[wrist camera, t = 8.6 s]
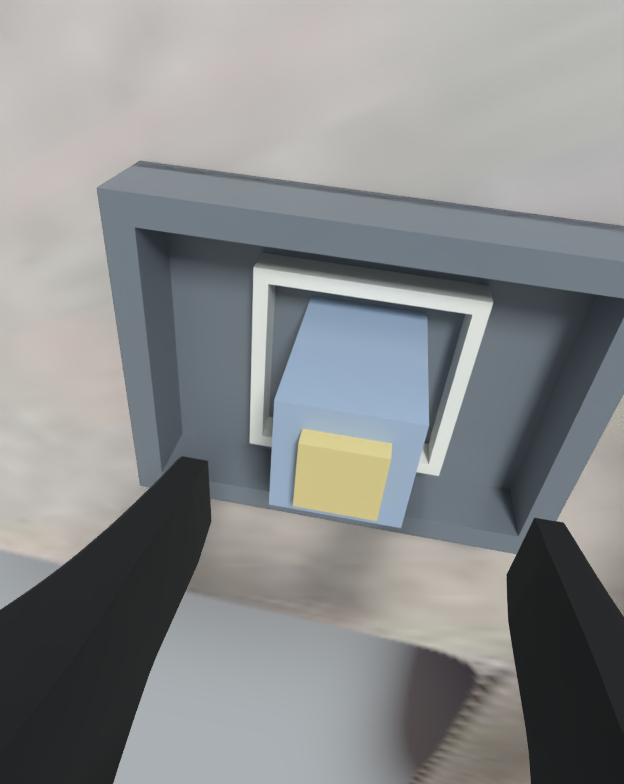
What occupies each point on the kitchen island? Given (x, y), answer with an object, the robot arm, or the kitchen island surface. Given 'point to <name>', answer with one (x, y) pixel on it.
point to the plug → (351, 412)
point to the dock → (377, 288)
